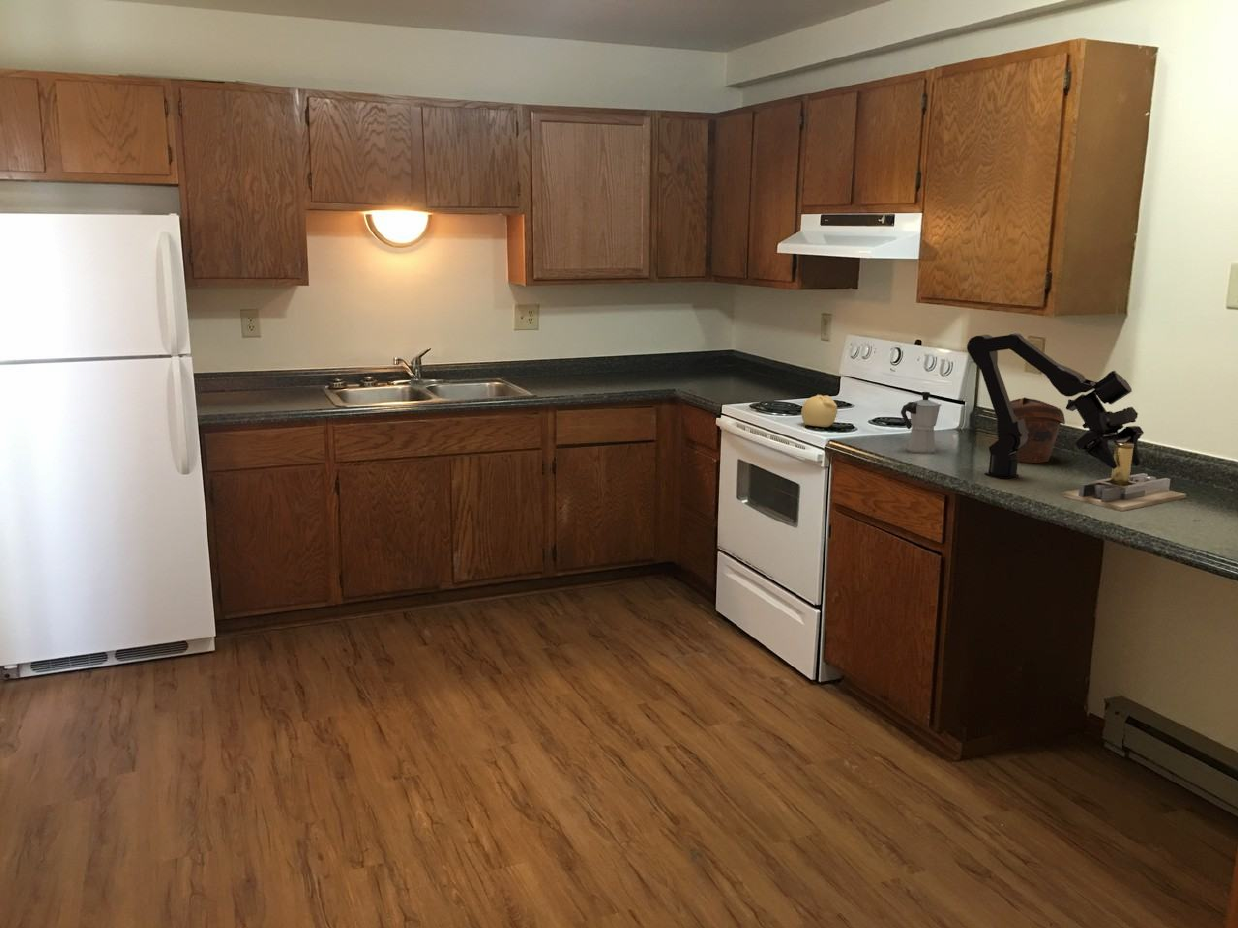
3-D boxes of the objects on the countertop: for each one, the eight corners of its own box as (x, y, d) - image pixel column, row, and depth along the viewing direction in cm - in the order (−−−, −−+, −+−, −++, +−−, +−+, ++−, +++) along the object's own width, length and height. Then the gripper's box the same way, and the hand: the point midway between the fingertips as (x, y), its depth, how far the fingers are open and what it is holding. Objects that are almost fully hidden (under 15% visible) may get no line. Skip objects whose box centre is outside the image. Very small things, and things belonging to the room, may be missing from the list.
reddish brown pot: (1018, 448, 309) (1024, 391, 305) (1074, 462, 292) (1082, 401, 287) (977, 454, 301) (983, 395, 296) (1032, 468, 283) (1039, 406, 279)
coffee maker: (928, 446, 310) (933, 388, 306) (947, 452, 302) (953, 393, 298) (888, 449, 304) (893, 390, 300) (907, 455, 297) (912, 395, 293)
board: (1061, 496, 252) (1062, 492, 252) (1125, 484, 266) (1126, 480, 265) (1121, 511, 238) (1122, 507, 238) (1185, 497, 252) (1186, 494, 252)
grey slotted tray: (1076, 495, 249) (1077, 483, 248) (1139, 483, 262) (1141, 472, 262) (1107, 503, 241) (1109, 491, 241) (1171, 490, 255) (1172, 479, 255)
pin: (1105, 493, 251) (1112, 442, 248) (1115, 491, 253) (1121, 441, 251) (1120, 496, 248) (1127, 445, 245) (1130, 495, 250) (1137, 444, 247)
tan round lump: (840, 429, 336) (842, 397, 334) (804, 429, 335) (806, 397, 333) (831, 423, 347) (833, 392, 345) (797, 422, 347) (799, 391, 344)
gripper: (1091, 398, 245) (1125, 451, 237) (1142, 394, 253) (1176, 445, 246) (1060, 424, 253) (1092, 476, 246) (1110, 419, 261) (1143, 470, 254)
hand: (1127, 466), depth 248 cm, fingers open, 8 cm apart
